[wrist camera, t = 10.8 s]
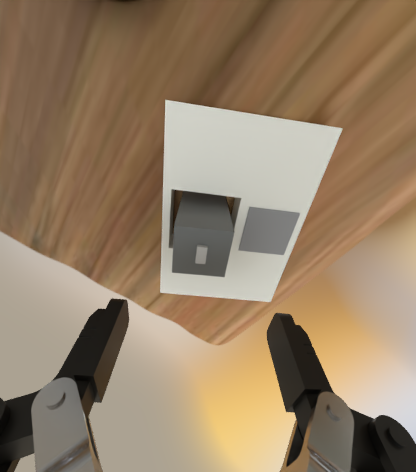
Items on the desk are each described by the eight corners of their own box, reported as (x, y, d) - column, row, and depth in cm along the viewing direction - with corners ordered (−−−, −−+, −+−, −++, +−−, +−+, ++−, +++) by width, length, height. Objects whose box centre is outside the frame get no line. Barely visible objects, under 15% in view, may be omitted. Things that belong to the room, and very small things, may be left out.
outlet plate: (171, 101, 18) (165, 99, 15) (324, 126, 19) (344, 128, 16) (164, 276, 28) (159, 293, 25) (264, 285, 29) (270, 303, 27)
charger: (183, 190, 22) (173, 227, 15) (225, 195, 23) (235, 234, 15) (180, 227, 24) (171, 275, 17) (218, 231, 25) (224, 279, 18)
